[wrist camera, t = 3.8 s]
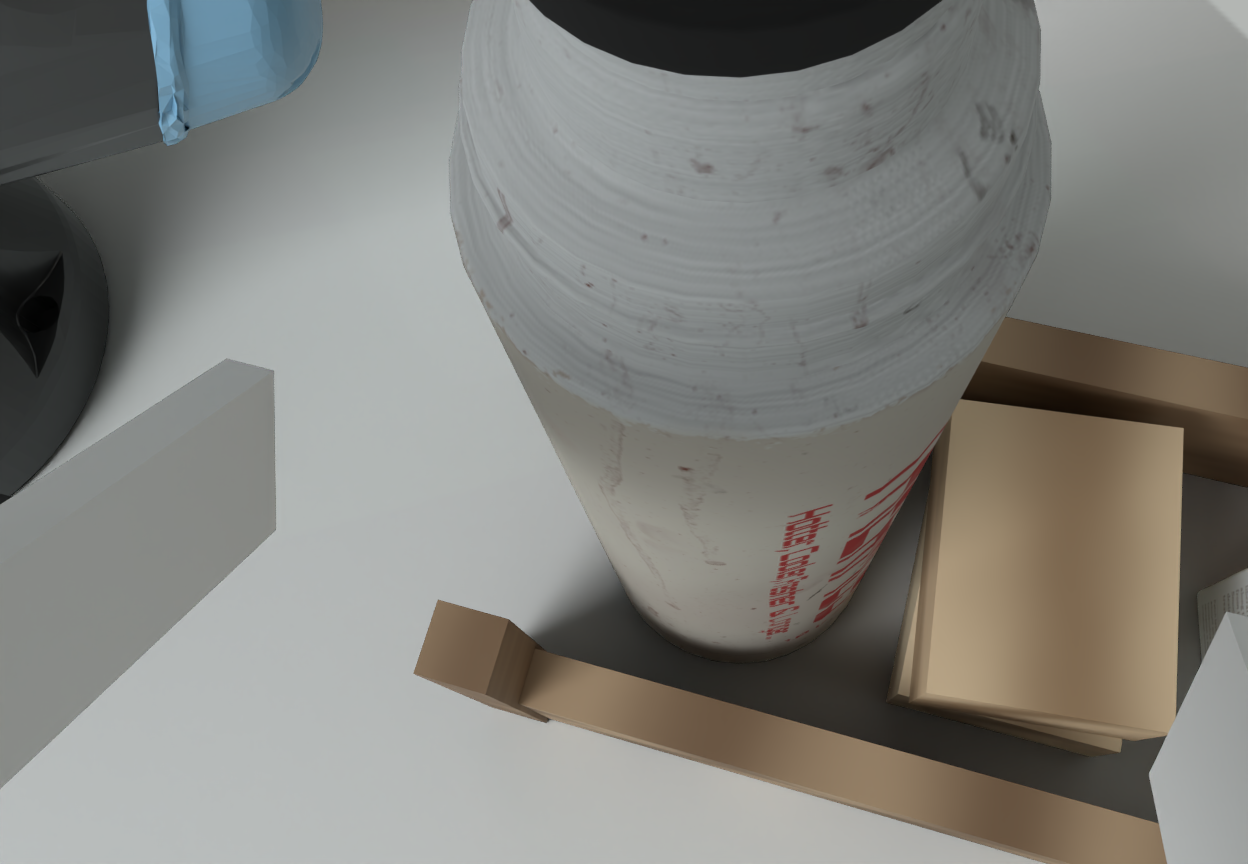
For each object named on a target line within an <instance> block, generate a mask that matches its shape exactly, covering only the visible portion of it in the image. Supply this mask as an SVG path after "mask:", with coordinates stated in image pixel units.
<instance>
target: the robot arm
mask: <svg viewBox="0 0 1248 864" xmlns="http://www.w3.org/2000/svg"><path fill="white" fill-rule="evenodd" d="M322 34H323V18H322V7H321V0H0V789H1V788H2V787H3V786H4V785H5V784H6V783H7V782H8V781H9V780H10V779H11V778H12V777H13V776H15V775H16V774H17V773H18V772H19V771H20V770H21V769H22V768H23V767H24V766H25V765H26V764H27V763H28V762H29V761H31V760H32V759H33V758H34V757H35V756H36V755H37V754H38V753H39V752H40V751H41V750H42V749H43V748H44V747H45V746H46V745H48V744H49V743H50V742H51V741H52V740H53V739H54V738H55V737H56V736H57V735H58V734H59V733H60V732H61V731H62V730H64V729H65V728H66V727H67V726H68V725H69V724H70V723H71V722H72V721H73V720H74V719H75V718H76V717H77V716H78V715H79V714H81V713H82V712H83V711H84V710H85V709H86V708H87V707H88V706H89V705H90V704H91V703H92V702H93V701H94V700H95V699H97V698H98V697H99V696H100V695H101V694H102V693H103V692H104V691H105V690H106V689H107V688H108V687H109V686H110V685H111V684H112V683H114V682H115V681H116V680H117V679H118V678H119V677H120V676H121V675H122V674H123V673H124V672H125V671H126V670H127V669H128V668H129V667H131V666H132V665H133V664H134V663H135V662H136V661H137V660H138V659H139V658H140V657H141V656H142V655H143V654H144V653H145V652H147V651H148V650H149V649H150V648H151V647H152V646H153V645H154V644H155V643H156V642H157V641H158V640H159V639H160V638H161V637H162V636H164V635H165V634H166V633H167V632H168V631H169V630H170V629H171V628H172V627H173V626H174V625H175V624H176V623H177V622H178V621H180V620H181V619H182V618H183V617H184V616H185V615H186V614H187V613H188V612H189V611H190V610H191V609H192V608H193V607H194V606H195V605H197V604H198V603H199V602H200V601H201V600H202V599H203V598H204V597H205V596H206V595H207V594H208V593H209V592H210V591H211V590H213V589H214V588H215V587H216V586H217V585H218V584H219V583H220V582H221V581H222V580H223V579H224V578H225V577H226V576H227V575H228V574H230V573H231V572H232V571H233V570H234V569H235V568H236V567H237V566H238V565H239V564H240V563H241V562H242V561H243V560H244V559H246V558H247V557H248V556H249V555H250V554H251V553H252V552H253V551H254V550H255V549H256V548H257V547H258V546H259V545H260V544H261V543H263V542H264V541H265V540H266V539H267V538H268V537H269V536H270V535H271V534H272V533H273V532H274V531H275V530H276V488H275V414H274V371H273V370H269V369H265V368H262V367H258V366H254V365H250V364H246V363H242V362H238V361H234V360H230V359H225V360H224V361H222V362H221V363H219V364H217V365H216V366H214V367H213V368H211V369H210V370H208V371H207V372H205V373H203V374H202V375H200V376H199V377H197V378H196V379H194V380H193V381H191V382H189V383H188V384H186V385H185V386H183V387H182V388H180V389H179V390H177V391H176V392H174V393H172V394H171V395H169V396H168V397H166V398H165V399H163V400H162V401H160V402H158V403H157V404H155V405H154V406H152V407H151V408H149V409H148V410H146V411H145V412H143V413H141V414H140V415H138V416H137V417H135V418H134V419H132V420H131V421H129V422H127V423H126V424H124V425H123V426H121V427H120V428H118V429H117V430H115V431H114V432H112V433H110V434H109V435H107V436H106V437H104V438H103V439H101V440H100V441H98V442H96V443H95V444H93V445H92V446H90V447H89V448H87V449H86V450H84V451H82V452H81V453H79V454H78V455H76V456H75V457H73V458H72V459H70V460H69V461H67V462H65V463H64V464H62V465H61V466H59V467H58V468H56V469H55V470H53V471H51V472H50V473H48V474H47V475H45V476H44V477H42V478H41V479H39V480H38V481H36V482H34V483H33V484H31V485H30V486H28V487H27V488H25V489H24V490H22V491H20V492H19V493H17V494H16V495H14V496H13V497H11V496H10V495H11V494H13V493H14V492H15V491H16V490H18V489H19V488H20V487H21V486H22V485H23V484H24V483H25V482H26V481H28V480H29V479H30V478H31V477H32V476H33V475H34V474H35V473H36V472H37V471H38V470H39V469H40V468H41V467H42V466H43V464H44V463H45V462H46V461H47V460H48V459H49V458H50V456H51V455H52V454H53V453H54V452H55V450H56V449H57V448H58V446H59V445H60V444H61V442H62V441H63V440H64V438H65V437H66V436H67V434H68V433H69V431H70V430H71V428H72V426H73V425H74V423H75V422H76V420H77V418H78V416H79V415H80V413H81V411H82V409H83V407H84V405H85V403H86V401H87V399H88V397H89V395H90V393H91V390H92V388H93V385H94V383H95V380H96V378H97V375H98V372H99V369H100V365H101V362H102V358H103V354H104V350H105V344H106V338H107V330H108V315H109V304H108V291H107V284H106V278H105V274H104V270H103V266H102V263H101V260H100V257H99V254H98V252H97V249H96V247H95V245H94V243H93V241H92V239H91V237H90V235H89V234H88V232H87V230H86V229H85V227H84V226H83V224H82V223H81V221H80V220H79V219H78V218H77V217H76V215H75V214H74V213H73V212H72V211H71V210H70V209H69V208H68V207H67V206H66V205H65V204H64V203H63V202H62V201H61V200H60V199H59V198H58V197H57V196H55V195H54V194H53V193H52V192H51V191H50V190H49V189H48V188H47V187H45V186H44V185H43V184H42V183H41V182H40V181H39V180H38V179H36V178H35V176H38V175H42V174H46V173H49V172H53V171H56V170H60V169H64V168H67V167H71V166H75V165H78V164H82V163H85V162H89V161H93V160H96V159H100V158H103V157H107V156H111V155H114V154H118V153H122V152H125V151H129V150H132V149H136V148H140V147H143V146H147V145H151V144H154V143H158V142H161V141H163V142H164V143H166V145H167V146H169V145H174V144H177V143H178V142H180V141H181V140H183V139H184V138H186V137H187V134H188V131H189V130H191V129H194V128H197V127H200V126H203V125H206V124H209V123H211V122H214V121H217V120H220V119H223V118H226V117H229V116H232V115H235V114H238V113H241V112H244V111H247V110H250V109H253V108H256V107H259V106H262V105H265V104H268V103H271V102H274V101H277V100H279V99H281V98H283V97H284V96H286V95H288V94H289V93H291V92H292V91H294V90H295V89H297V88H298V87H299V86H300V85H301V84H302V83H303V82H304V80H305V79H306V77H307V76H308V74H309V73H310V71H311V70H312V68H313V67H314V64H315V63H316V61H317V59H318V55H319V52H320V48H321V44H322ZM1149 778H1150V783H1151V788H1152V793H1153V797H1154V802H1155V807H1156V812H1157V817H1158V822H1159V827H1160V831H1161V836H1162V841H1163V846H1164V851H1165V856H1166V861H1167V864H1248V617H1246V616H1242V615H1238V614H1234V613H1230V612H1226V613H1225V615H1224V617H1223V619H1222V621H1221V624H1220V626H1219V628H1218V630H1217V632H1216V634H1215V636H1214V638H1213V640H1212V642H1211V645H1210V647H1209V649H1208V651H1207V653H1206V655H1205V657H1204V659H1203V661H1202V663H1201V666H1200V668H1199V670H1198V672H1197V674H1196V676H1195V678H1194V680H1193V682H1192V684H1191V686H1190V689H1189V691H1188V693H1187V695H1186V697H1185V699H1184V701H1183V703H1182V705H1181V707H1180V710H1179V712H1178V714H1177V716H1176V718H1175V720H1174V722H1173V724H1172V726H1171V728H1170V730H1169V733H1168V735H1167V737H1166V739H1165V741H1164V743H1163V745H1162V747H1161V749H1160V751H1159V754H1158V756H1157V758H1156V760H1155V762H1154V764H1153V766H1152V768H1151V770H1150V772H1149Z"/></svg>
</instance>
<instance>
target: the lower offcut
mask: <svg viewBox="0 0 1248 864" xmlns="http://www.w3.org/2000/svg"><path fill="white" fill-rule="evenodd" d="M929 488H930V487H929ZM928 499H929V492H928V497H927V502H926V507H925V512H924V517H923V522H922V526H921V531H920V536H919V541H918V546H917V551H916V556H915V561H914V566H913V571H912V576H911V581H910V586H909V591H908V596H907V601H906V606H905V611H904V616H903V620H902V625H901V630H900V635H899V640H898V645H897V650H896V655H895V660H894V665H893V670H892V675H891V680H890V685H889V690H888V695H887V700H886V703H890V704H894V705H897V706H901V707H905V708H909V709H913V710H916V711H920V712H924V713H928V714H931V715H935V716H939V717H943V718H946V719H950V720H954V721H958V722H961V723H965V724H969V725H973V726H977V727H980V728H984V729H988V730H992V731H995V732H999V733H1003V734H1007V735H1010V736H1014V737H1018V738H1022V739H1025V740H1029V741H1033V742H1037V743H1041V744H1044V745H1048V746H1052V747H1056V748H1059V749H1063V750H1067V751H1071V752H1074V753H1078V754H1082V755H1086V756H1089V757H1095V756H1101V755H1108V754H1114V753H1121V746H1122V739H1119V738H1113V737H1107V736H1101V735H1095V734H1089V733H1083V732H1077V731H1071V730H1065V729H1059V728H1053V727H1047V726H1041V725H1035V724H1029V723H1023V722H1017V721H1011V720H1006V719H1000V718H994V717H988V716H982V715H976V714H970V713H964V712H958V711H952V710H946V709H940V708H934V707H928V706H922V705H916V704H910V703H909V695H910V684H911V674H912V664H913V653H914V643H915V633H916V622H917V612H918V602H919V591H920V581H921V571H922V561H923V550H924V540H925V530H926V519H927V509H928Z"/></svg>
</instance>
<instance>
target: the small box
mask: <svg viewBox="0 0 1248 864" xmlns="http://www.w3.org/2000/svg"><path fill="white" fill-rule="evenodd" d="M1197 606H1198V618H1199V630H1200V645H1201V658H1202V661H1203V659H1204V657H1205V655H1206V653H1207V651H1208V649H1209V647H1210V645H1211V642H1212V640H1213V638H1214V636H1215V634H1216V632H1217V630H1218V628H1219V626H1220V624H1221V621H1222V619H1223V617H1224V615H1225V613H1226V612H1230V613H1234V614H1238V615H1242V616H1246V617H1248V568H1246V569H1244V570H1242V571H1240V572H1238V573H1236V574H1234V575H1232V576H1230V577H1228V578H1226V579H1224V580H1222V581H1220V582H1218V583H1216V584H1214V585H1211V586H1209V587H1207V588H1205V589H1203V590H1201V591H1199V592H1198V594H1197Z"/></svg>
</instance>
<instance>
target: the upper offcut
mask: <svg viewBox="0 0 1248 864" xmlns="http://www.w3.org/2000/svg"><path fill="white" fill-rule="evenodd" d="M1183 433H1184V428H1178V427H1171V426H1163V425H1155V424H1148V423H1140V422H1132V421H1124V420H1117V419H1109V418H1101V417H1094V416H1086V415H1078V414H1071V413H1063V412H1055V411H1048V410H1040V409H1032V408H1024V407H1017V406H1009V405H1001V404H994V403H986V402H978V401H971V400H963V399H960V400H959V402H958V404H957V406H956V408H955V410H954V411H953V413H952V415H951V417H950V419H949V420H948V422H947V424H946V426H945V428H944V430H943V431H942V433H941V435H940V437H939V439H938V441H937V442H936V444H935V446H934V448H933V457H932V468H931V478H930V488H929V499H928V509H927V519H926V530H925V540H924V550H923V561H922V571H921V581H920V591H919V602H918V612H917V622H916V633H915V643H914V653H913V664H912V674H911V684H910V695H909V703H910V704H916V705H922V706H928V707H934V708H940V709H946V710H952V711H958V712H964V713H970V714H976V715H982V716H988V717H994V718H1000V719H1006V720H1011V721H1017V722H1023V723H1029V724H1035V725H1041V726H1047V727H1053V728H1059V729H1065V730H1071V731H1077V732H1083V733H1089V734H1095V735H1101V736H1107V737H1113V738H1119V739H1125V740H1131V741H1137V740H1143V739H1149V738H1155V737H1161V736H1167V735H1168V733H1169V730H1170V728H1171V726H1172V724H1173V722H1174V720H1175V718H1176V692H1177V655H1178V618H1179V581H1180V544H1181V507H1182V470H1183Z"/></svg>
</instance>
